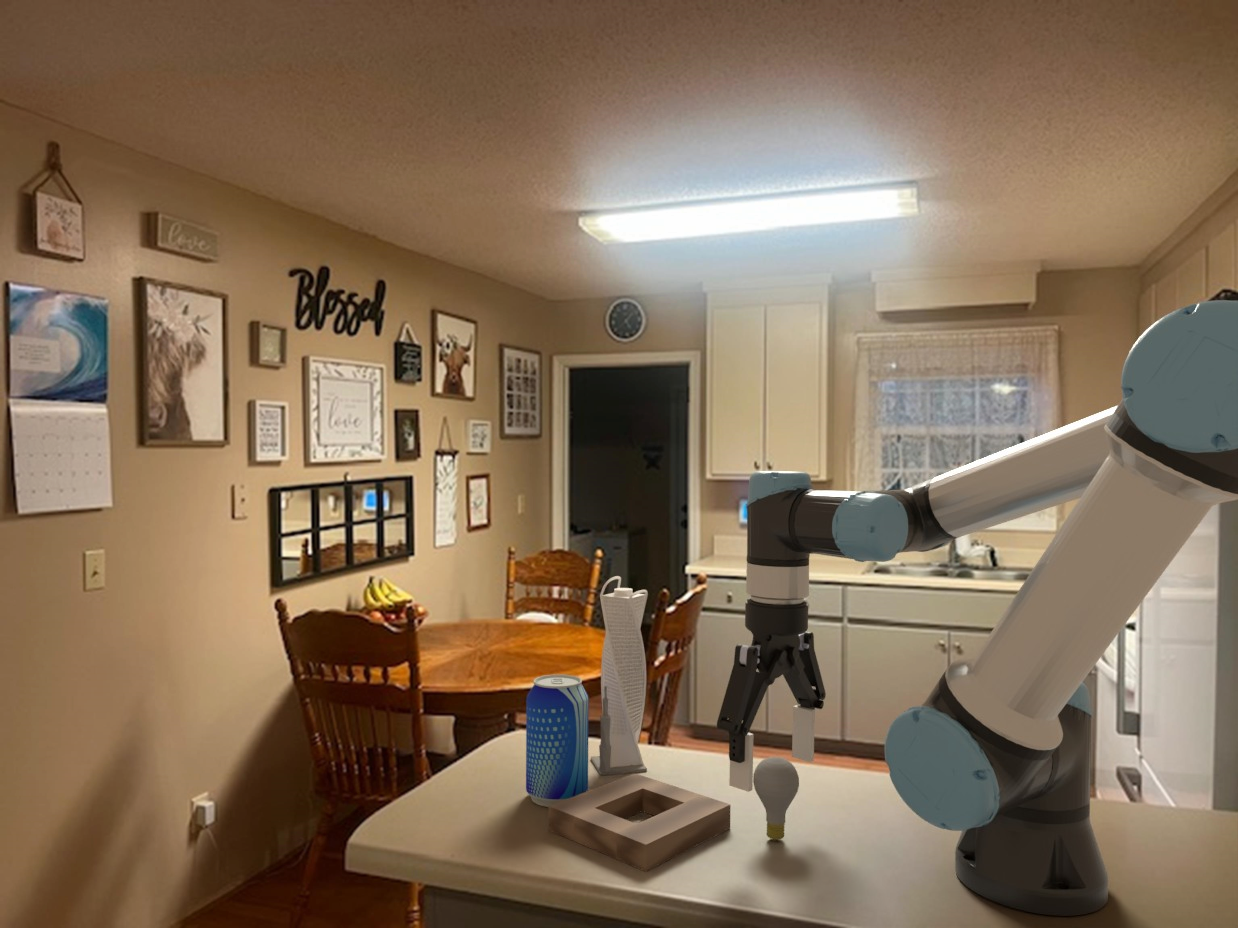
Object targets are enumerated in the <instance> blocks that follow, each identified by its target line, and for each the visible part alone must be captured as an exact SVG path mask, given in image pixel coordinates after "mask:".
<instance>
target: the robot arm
mask: <svg viewBox="0 0 1238 928" xmlns="http://www.w3.org/2000/svg"><path fill="white" fill-rule="evenodd" d="M1120 388H1121V394H1122V398H1121V400H1120V402H1119V403H1118V404H1117V405H1115V406H1113V407H1110V408H1107V409H1105V410H1103V411H1100V412H1097V413H1095V414H1092V415H1090V416H1087V417H1085V418H1082V419H1080V420H1077V421H1074V422H1071V423H1069V424H1066V425H1064V426H1062V427H1060V428H1057V429H1055V430H1051V431H1049V432H1047V433H1045V434H1042V435H1039V436H1037V437H1034V438H1031V439H1029V440H1026V441H1024V442H1021V443H1018V444H1016V445H1014V446H1011V447H1008V448H1006V449H1003V450H1001V451H998V452H996V453H993V454H991V455H988V456H986V457H983V458H981V459H977V460H975V461H973V462H971V463H968V464H966V465H963V466H961V467H958V468H955V469H952V470H950V471H948V472H945V473H943V474H940V475H938V476H934V477H933V478H930V479H927V480H925V481H922V482H920V483H917V484H915V485H913V486H910V487H907V488H903V489H886V490H885V489H884V490H854V491H853V490H822V489H821V490H819V489H814V488H813V485H812V477H811V475H810V474H809V473H808V472H806V471H805V472H804V471H794V470H792V471H790V470H789V471H787V470H786V471H785V470H760V471H759V470H757V471H755V472H753V473H752V474H751V475H750V477H749V480H748V489H747V490H748V491H747V498H746V499H747V500H746V504H745V508H746V530H747V531H746V537H747V538H746V541H747V542H746V579H745V582H746V583H745V584H746V585H745V592H746V594H747V595H748V596H750V597H748V598H747V599H746V600H745V607H744V609H745V610H744V611H745V612H744V616H745V617H744V626H745V628H746V630H748V631H750V632H751V634H752V640H751V641H752V642H751V645H746V644H741V643H738V644H736V646H735V648H734V658H733V665H732V669H731V672H730V676H729V680H728V682H727V687H726V690H725V692H724V693H725V694H724V697H723V700H722V703H721V706H720V710H719V714H718V717H717V722H716V728H717V729H719V730H722V731H727V732H728V736H729V737H728V740H729V741H728V747H729V748H728V758H729V778H728V779H729V780H728V782H729V786H730V787H733V788H736V789H739V790H742V791H746V792H747V793H749V792H751V791H753V787H754V783H753V776H754V734H755V733H751V732H750V730H751V728H752V726H753V723H754V720H755V718H756V716H757V714H758V711H759V709H760V708H761V704H762V702H763V700H764V697H765V695H766V692H767V690H768V687H769V686H771V685H773V684H774V682H775V681H776V679H778V678H780V677H781V676H783V678H784V680H785V682H786V683H787V685H788V687H789V690H790V692H791V693H792V695H793V696H794V699H795V700H796V703H797V704H798V705H797V704H796V705H793V706H792V740H791V741H792V743H791V745H792V746H791V748H792V749H791V758H794V759H798V760H801V761H804V762H808V763H812V762H814V761H815V759H814V757H815V724H816V723H815V714H816V713H815V712H816V709H818V710H822V709H823V707H824V704H825V703H824V702H825V701H824V700H825V699H826V696H827V695H826V694H827V693H826V690H825V685H824V682H823V677H822V673H821V670H820V665H819V662H818V659H817V655H816V651H815V634H814V632H812V631H808V629H809V603H808V602H807V601H806V600H805V599H806V598H808V597H810V554H811V555H813V554H815V555H821V556H827V557H828V556H829V557H836V558H842V559H849V560H854V561H856V562H858V563H859V562H860V563H864V562H880V563H885V562H889V561H893V560H894V559H895V558H896V556H897V554H898V553H900V554H902V553H910V552H912V553H913V552H918V553H919V552H920V553H924V552H930V551H934V550H937V549H940V548H943V547H945V546H947V545H950V543H951V542H953V540H954V541H955V540H956V539H958V538H961V537H964V536H967V535H970V534H973V533H976V532H979V531H982V530H986V529H988V528H993V527H995V526H998V525H1001V524H1004V523H1007V522H1010V521H1014V520H1016V519H1021V518H1022V517H1025V516H1028V515H1031V514H1032V515H1033V514H1035V513H1038V512H1041V511H1044V510H1047V509H1049V508H1054V507H1056V506H1060V505H1063V504H1066V503H1069V502H1072V501H1075V500H1078V501H1077V502H1076V504H1075V505H1074V507H1073V508H1072V509H1071V511H1070V513H1069V515H1068V516H1067V518H1066V519H1065V520H1064V522H1063V523H1062V525H1061V526H1060V528H1059V529H1058V531H1057V532H1056V534H1055V535H1054V537H1053V538H1052V540H1051V542H1049V544H1048V546H1047V548H1046V549H1045V550H1044V552H1043V554H1042V555H1041V557H1040V558H1039V560H1038V561H1037V562H1036V564H1035V565H1034V567H1033V568H1032V570H1031V572H1030V573H1029V574H1028V575H1027V578H1026V579H1025V580H1024V582H1023V583H1022V585H1021V587H1020V588H1019V590H1018V591H1017V593H1016V594H1015V595H1014V597H1013V599H1012V600H1011V601H1010V603H1009V605H1008V607H1007V608H1006V609H1005V611H1004V612H1003V614H1001V617H1000V618H999V620H998V621H997V623H996V624H995V626H994V628H993V629H992V630H991V632H990V633H989V634H988V637H987V638H986V640H985V641H984V642H983V644H982V645H981V647H980V648H979V650H977V653H976V655H975V656H974V658H969V659H959V660H955V661H953V662H951V663H950V665H948V666H947V668H946V669H945V671H944V673H943V674H942V676H941V677H940V678H939V680H938V681H937V683H936V685H935V686H934V687H933V689H932V691H931V692H930V694H929V695H928V697H927V698H926V700H924V702H923V703H922V704H921V705H918V706H917V705H916V706H911V707H909V708H908V709H907V710H904V711H903V713H901V714H900V715H899V716H897V717H896V718H895V719H894V720H893V721H892V723H891V724H890V726H889V727H888V730H887V733H886V736H885V740H884V759H885V761H884V762H885V764H886V765H887V767H888V770H889V777H890V780H891V783H892V784H893V787H894V788H895V790H896V792H897V793H898V795H899V797H900V798H901V800H902V801H903V802H904V803H905V804H906V805H907V807H908V808H909V809H910V810H911V811H912V812H913V813H915V815H917V816H918V817H919V818H921V820H923V821H925V822H927V823H928V824H930V825H932V826H934V827H937V828H939V829H942V830H947V831H953V832H954V831H955V832H960V831H961V833H960V835H959V838H958V841H957V843H956V846H955V851H954V852H955V855H954V856H955V858H954V859H955V861H954V862H955V863H954V868H955V874H956V876H957V877H958V879H959V881H961V882H962V884H964V885H965V886H966V887H967V888H968V889H970V890H971V891H972V892H975V893H976V894H977V895H979V896H981V897H984V898H985V899H988V900H990V901H992V902H994V903H997V904H1000V905H1002V906H1005V907H1009V908H1012V909H1015V910H1019V911H1023V912H1027V913H1028V912H1029V913H1034V914H1038V915H1045V916H1047V915H1048V916H1061V917H1064V916H1065V917H1066V916H1067V917H1069V916H1082V915H1086V914H1090V913H1094V912H1098V911H1099V910H1101V909H1102V908H1103V907H1105V905H1106V904H1107V903H1108V899H1109V876H1108V872H1107V868H1106V866H1105V865H1106V864H1105V862H1104V860H1103V857H1102V853H1101V851H1100V847H1099V845H1098V842H1097V838H1096V836H1095V833H1094V829H1093V827H1092V824H1091V815H1090V813H1091V811H1090V810H1091V758H1092V757H1091V756H1092V754H1091V752H1092V751H1091V749H1092V744H1091V743H1092V741H1091V740H1092V718H1093V715H1094V714H1093V711H1092V710H1091V694H1090V690H1089V688H1088V686H1087V685H1086V684H1085V682H1084V680H1085V679H1086V678H1087V676H1088V675H1089V674H1090V672H1091V671H1092V670H1093V668H1094V667H1095V665H1096V664H1097V663H1098V661H1099V660H1100V659H1101V658H1102V656H1103V654H1104V653H1105V652H1106V651H1107V649H1108V648H1109V646H1111V644H1112V643H1113V641H1114V640H1115V638H1116V637H1117V636H1118V634H1119V633H1121V630H1122V629H1123V628H1124V626H1125V625H1126V623H1127V622H1128V621H1129V619H1130V618H1131V617H1132V615H1133V614H1134V613H1135V611H1136V610H1137V609H1138V607H1139V606H1140V605H1141V603H1142V602H1143V600H1144V599H1145V598H1146V596H1147V595H1148V594H1149V593H1150V592H1151V590H1152V588H1153V587H1154V586H1155V584H1156V583H1157V582H1158V580H1159V579H1160V578H1161V577H1162V575H1163V573H1164V572H1165V571H1166V569H1167V568H1168V567H1169V565H1170V564H1171V562H1172V561H1173V560H1174V558H1175V557H1176V556H1177V555H1178V553H1179V552H1180V550H1182V548H1183V547H1184V545H1185V544H1186V542H1187V541H1188V540H1189V539H1190V537H1191V536H1192V534H1193V533H1194V532H1195V531H1196V529H1197V528H1198V526H1199V524H1200V523H1202V520H1204V518H1205V517H1206V515H1207V514H1208V513H1209V512H1210V511H1211V509H1212V507H1214V506H1216V505H1218V504H1221V503H1227V502H1228V503H1229V502H1234V501H1237V500H1238V300H1236V299H1235V300H1226V299H1225V300H1224V299H1223V300H1222V299H1221V300H1218V299H1216V300H1207V301H1202V302H1196V303H1193V304H1192V303H1191V304H1189V305H1187V306H1184V307H1181V308H1177V309H1176V310H1174V311H1172V312H1170V313H1168V314H1166V315H1164V316H1163V317H1161V318H1159V319H1158V320H1157V321H1155V322H1154V323H1153V324H1152V325H1149V327H1148V328H1147V329H1145V331H1144V332H1143V333H1142V334H1141V335H1140V336H1139V337H1138V339H1137V340H1136V341H1135V343H1134V344H1133V345H1132V346H1131V349H1130V350H1129V352H1128V355H1127V357H1126V359H1125V361H1124V364H1123V367H1122V371H1121V377H1120Z"/></svg>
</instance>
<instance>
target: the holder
mask: <svg viewBox="0 0 1238 928" xmlns="http://www.w3.org/2000/svg"><path fill="white" fill-rule="evenodd" d="M643 812H644V813H646V814H649V815H652V817H650V818H647V819H645V820H643V821H640V822H638V823H635V822H633V821H629V820H627V819H628V818H631V817H632V816H635V815H637V814H640V813H643ZM730 829H731V804H730V803H727V802H724V801H722V800H718V799H714V798H711V797H709V796H706V795H703V794H699V793H697V792H693V791H690V790H687V789H684V788H682V787H678V786H676V785H673V784H669V783H666V782H663V781H660V780H657V779H654V778H650V777H648V776H644V775H641V774H638V773H637V772H635V773H630V774H628V775H627V776H623V777H621V778H617V779H615V780H613V781H609V782H608V783H605V784H603V785H600V786H598V787H595V788H592V789H590V790H589V789H588V790H587V792H584V793H582V794H579V795H576V796H574V797H571V798H568V799H566V800H563V801H561V802H558V803H555V804H553V805H550V806H549V807H548V831H549V832H552V833H554V834H557V835H558V836H561V837H563V838H566V839H568V840H571V841H573V842H575V843H578V844H580V845H583V846H585V847H587V848H590V849H592V850H594V851H597V852H599V853H601V854H603V855H606V856H609V857H611V858H613V859H614V860H615V859H616V860H618V861H620V862H622V863H625V864H627V865H629V866H632V867H634V868H636V869H639V870H642V871H643V872H648V871H650V870H651V869H654V868H656V867H658V866H660V865H661V864H663V863H665V862H667V861H670V860H672V859H673V858H675V857H677V856H679V855H681V854H683V853H685V852H687V851H689V850H691V849H693V848H694V847H697V846H699V845H700V844H703V843H705V842H707V841H709V840H710V839H712V838H715V837H716V836H718V835H720V834H722V833H725V832H726V831H729V830H730Z"/></svg>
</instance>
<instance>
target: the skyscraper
mask: <svg viewBox="0 0 1238 928" xmlns="http://www.w3.org/2000/svg"><path fill="white" fill-rule="evenodd" d="M615 580H618V581H617V587H616V588H613V589H614V591H613V592H611V593H607V594H604V592H605V589H606V588H607V585H608V584H610V582H612V581H615ZM621 583H622V577H621V576H619V575H616V576H612V577H610V578H609V579H608V580H607V581H606V582H605V583H604V584H603V586H602V589H601V591H600V594H599V599H600V604H601V605H600V606H601V611H602V616H603V622H604V628H605V634H604V639H603V644H602V645H603V646H602V651H601V652H602V653H601V654H602V655H601V664H600V665H601V667H600V670H601V671H600V693H601V705H602V706H601V707H602V715H600V717H599V718H600V719H599V720H600V743H599V745H598V747H599V749H598V751H599V755H597V756H596V755H595V756H590V760H591V762H592V764H593V765H594V767H595V769H596V770H597V772H598V773H599V775H600V776H608V775H610V776H611V775H621V774H634V773H646V772H648V768H647V767H646V766H645V764H644V761H643V757H642V754H641V751H640V747H639V740H640V734H641V729H642V725H643V724H642V723H643V718H644V713H645V704H646V694H647V661H646V660H647V659H646V652H645V647H644V646H645V645H644V640H643V635H642V631H641V627H642V623H643V617H644V615H645V609H646V605H647V600H648V596H649V593H648V590H647V589H641V590H636V591H634V592H633V588H631V587H630V588H629V587H621Z"/></svg>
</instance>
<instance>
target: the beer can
mask: <svg viewBox="0 0 1238 928" xmlns="http://www.w3.org/2000/svg"><path fill="white" fill-rule="evenodd" d="M532 682H533V685H532V687H530V690H529V691H528V694H527V696H526V701H525V702H526V705H525V706H526V709H525V710H526V713H525V714H526V715H525V716H526V718H525V719H526V721H525V722H526V723H525V724H526V725H525V726H526V727H525V728H526V729H525V730H526V731H525V732H526V733H525V737H526V739H525V741H526V742H525V745H526V746H525V747H526V749H525V755H526V756H525V790H526V791H525V792H526V793H527V794H528V795H529V796H530V799H531V801H532V802H533V803H534V804H535V805H537V806H541V807H545V808H549V806H550V805H553V804H555V803H558V802H561V801H563V800H566V799H568V798H571V797H574V796H576V795H579V794H582V793H584V792H587V791H589V704H590V703H589V700H590V699H589V694H588V693H587V691H586V690H585V687H584V686H583V684H582V682H583V680H582V679H581V678H580V677H579V676H576V675H571V674H570V675H569V674H548V675H547V674H546V675H541V676H538V677H536V678H534V679H533V681H532Z"/></svg>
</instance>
